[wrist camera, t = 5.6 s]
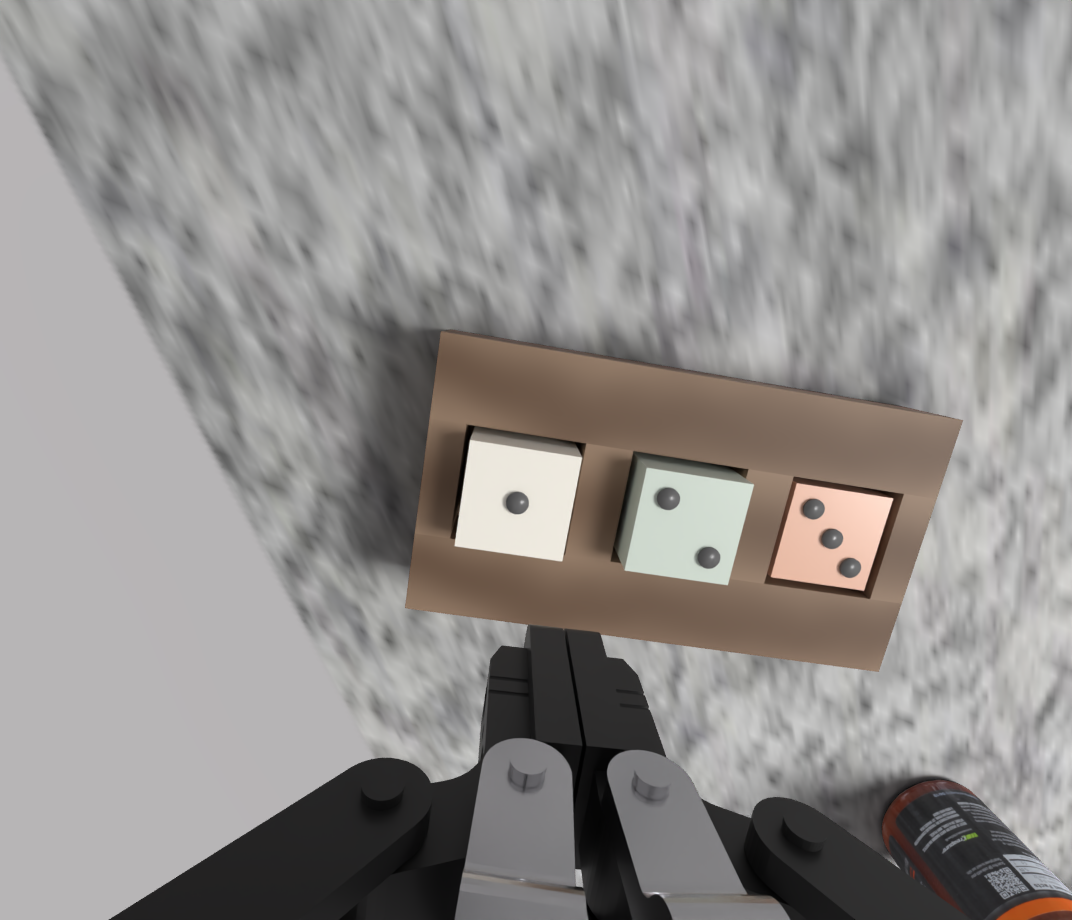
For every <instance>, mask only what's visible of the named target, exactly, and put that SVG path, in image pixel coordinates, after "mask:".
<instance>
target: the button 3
mask: <svg viewBox="0 0 1072 920" xmlns="http://www.w3.org/2000/svg"><path fill="white" fill-rule="evenodd" d="M892 501H893V498H891V497H889V496H887V495H885V494H883V493H881V492H879V491H877V490H874V489H870V488H864V487H858V486H851V485H845V484H839V483H832V482H826V481H820V480H814V479H807V478H801V477H795V476H794V477H793V481H792V484H791V488H790V492H789V495H788V499H787V502H786V506H785V510H784V513H783V517H782V521H781V524H780V528H779V531H778V535H777V539H776V542H775V546H774V549H773V553H772V557H771V560H770V564H769V568H768V571H767V574H768V575H769V576H770V577H773V578H780V579H787V580H794V581H801V582H808V583H814V584H821V585H828V586H835V587H842V588H849V589H856V590H863V591H864V589H865V586H866V583H867V580H868V577H869V573H870V570H871V567H872V564H873V561H874V558H875V555H876V551H877V548H878V545H879V542H880V539H881V536H882V533H883V529H884V526H885V523H886V520H887V517H888V514H889V511H890V507H891V504H892Z"/></svg>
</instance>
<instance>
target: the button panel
mask: <svg viewBox="0 0 1072 920" xmlns="http://www.w3.org/2000/svg"><path fill="white" fill-rule="evenodd" d="M962 422H963V420H960V419H955V418H951V417H946V416H942V415H937V414H933V413H929V412H924V411H920V410H915V409H911V408H907V407H902V406H896V405H890V404H885V403H879V402H873V401H867V400H861V399H855V398H849V397H844V396H838V395H832V394H826V393H820V392H814V391H808V390H803V389H797V388H791V387H785V386H779V385H773V384H767V383H761V382H756V381H750V380H744V379H738V378H732V377H726V376H720V375H715V374H709V373H703V372H697V371H691V370H685V369H679V368H674V367H668V366H662V365H656V364H650V363H644V362H638V361H633V360H627V359H621V358H615V357H609V356H603V355H597V354H592V353H586V352H580V351H574V350H568V349H562V348H556V347H551V346H545V345H539V344H533V343H527V342H521V341H515V340H510V339H504V338H498V337H492V336H486V335H480V334H474V333H469V332H463V331H457V330H446V331H441V334H440V342H439V350H438V358H437V365H436V373H435V381H434V388H433V396H432V404H431V411H430V419H429V427H428V435H427V442H426V450H425V458H424V465H423V473H422V481H421V489H420V496H419V504H418V512H417V519H416V527H415V535H414V543H413V550H412V558H411V566H410V573H409V581H408V589H407V597H406V604H405V608H408V609H415V610H423V611H430V612H438V613H445V614H453V615H460V616H467V617H475V618H482V619H490V620H497V621H505V622H512V623H520V624H527V625H529V624H532V625H541V626H549V627H558V628H563V629H565V628H568V629H576V630H585V631H594V632H599V633H600V634H601V635H609V636H616V637H624V638H631V639H639V640H646V641H653V642H661V643H668V644H676V645H683V646H691V647H698V648H705V649H713V650H720V651H728V652H735V653H743V654H750V655H758V656H765V657H772V658H780V659H787V660H795V661H802V662H810V663H817V664H824V665H832V666H839V667H847V668H854V669H862V670H869V671H876V672H879V669H880V666H881V663H882V660H883V657H884V654H885V651H886V648H887V645H888V642H889V639H890V636H891V633H892V630H893V627H894V624H895V621H896V618H897V616H898V613H899V610H900V607H901V604H902V601H903V598H904V595H905V592H906V589H907V586H908V583H909V580H910V577H911V574H912V571H913V568H914V565H915V562H916V559H917V556H918V553H919V550H920V547H921V544H922V541H923V538H924V535H925V532H926V529H927V526H928V523H929V520H930V517H931V514H932V511H933V508H934V505H935V502H936V499H937V496H938V493H939V490H940V487H941V484H942V481H943V478H944V475H945V472H946V469H947V466H948V463H949V461H950V458H951V455H952V452H953V449H954V446H955V443H956V440H957V437H958V434H959V431H960V428H961V425H962ZM475 426H477V427H484V428H490V429H496V430H502V431H509V432H515V433H521V434H528V435H534V436H540V437H546V438H553V439H559V440H565V441H572V442H575V444H576V446H577V448H578V450H579V452H580V454H581V456H582V461H581V466H580V472H579V477H578V482H577V487H576V492H575V498H574V503H573V508H572V513H571V519H570V524H569V529H568V534H567V539H566V545H565V550H564V555H563V560H562V561H555V560H548V559H541V558H534V557H527V556H520V555H513V554H506V553H499V552H492V551H485V550H478V549H471V548H464V547H457V546H455V539H456V532H457V526H458V519H459V512H460V505H461V498H462V491H463V485H464V478H465V471H466V464H467V457H468V451H469V444H470V439H471V436H472V433H473V430H474V427H475ZM633 451H635V452H641V453H647V454H653V455H660V456H666V457H672V458H679V459H685V460H691V461H697V462H704V463H710V464H716V465H723V466H728V467H729V468H731V469H732V470H734V471H735V472H737V473H738V474H740V475H741V476H742V477H744V478H745V479H747V480H748V481H750V482H751V483H753V484H754V487H753V491H752V494H751V498H750V502H749V506H748V510H747V514H746V517H745V521H744V525H743V529H742V533H741V537H740V540H739V544H738V548H737V552H736V556H735V559H734V563H733V567H732V571H731V575H730V579H729V582H728V585H722V584H715V583H708V582H701V581H694V580H687V579H680V578H673V577H666V576H659V575H652V574H645V573H638V572H631V571H625V570H624V568H623V566H622V564H621V561H620V559H619V557H618V555H617V552H616V550H615V548H614V541H615V536H616V532H617V527H618V522H619V517H620V513H621V508H622V503H623V498H624V494H625V489H626V484H627V479H628V475H629V470H630V465H631V460H632V456H633ZM794 476H795V477H801V478H807V479H814V480H820V481H826V482H832V483H839V484H845V485H851V486H858V487H864V488H870V489H874V490H877V491H879V492H881V493H883V494H885V495H887V496H889V497H891V498H893V501H892V504H891V507H890V511H889V514H888V517H887V520H886V523H885V526H884V529H883V533H882V536H881V539H880V542H879V545H878V548H877V551H876V555H875V558H874V561H873V564H872V567H871V570H870V573H869V577H868V580H867V583H866V586H865V589H864V591H863V590H856V589H849V588H842V587H835V586H828V585H821V584H814V583H808V582H801V581H794V580H787V579H780V578H773V577H770V576H769V575H768V574H767V571H768V568H769V564H770V560H771V557H772V553H773V549H774V546H775V542H776V539H777V535H778V531H779V528H780V524H781V521H782V517H783V513H784V510H785V506H786V502H787V499H788V495H789V492H790V488H791V484H792V481H793V477H794Z"/></svg>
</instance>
